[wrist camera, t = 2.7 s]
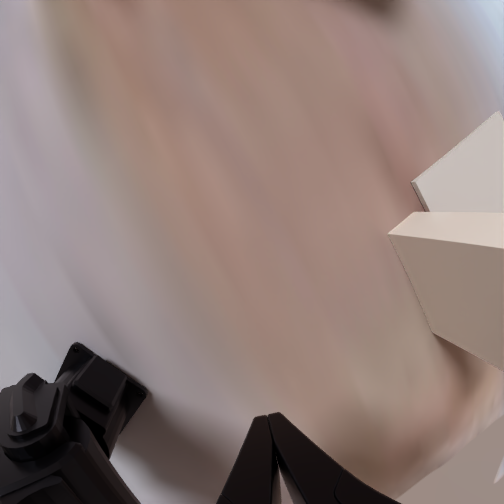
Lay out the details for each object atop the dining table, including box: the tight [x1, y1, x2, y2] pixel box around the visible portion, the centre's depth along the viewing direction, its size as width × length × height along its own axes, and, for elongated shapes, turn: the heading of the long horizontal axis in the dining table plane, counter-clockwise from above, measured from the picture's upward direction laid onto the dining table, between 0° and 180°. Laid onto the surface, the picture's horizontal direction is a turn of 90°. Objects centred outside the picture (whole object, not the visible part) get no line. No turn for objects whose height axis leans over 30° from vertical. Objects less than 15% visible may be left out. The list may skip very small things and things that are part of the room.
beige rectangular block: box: [388, 212, 504, 372], centre depth 15 cm, size 3×10×12 cm, turn 34°
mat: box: [411, 111, 504, 213], centre depth 21 cm, size 16×14×1 cm
